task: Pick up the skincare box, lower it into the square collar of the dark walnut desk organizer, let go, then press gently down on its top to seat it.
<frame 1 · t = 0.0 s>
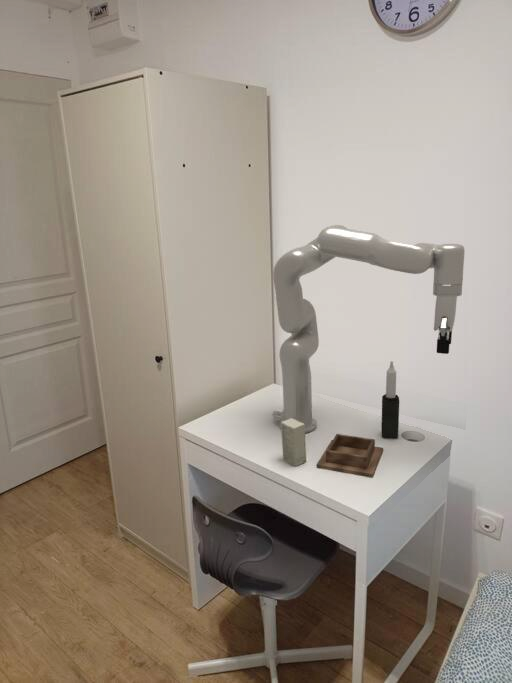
hand: (443, 348, 144), 31 cm above the table, tool pointing down, fingers open, 9 cm apart
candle: (389, 435, 161), on the table
skincare box: (294, 461, 148), on the table
organizer: (350, 458, 148), on the table
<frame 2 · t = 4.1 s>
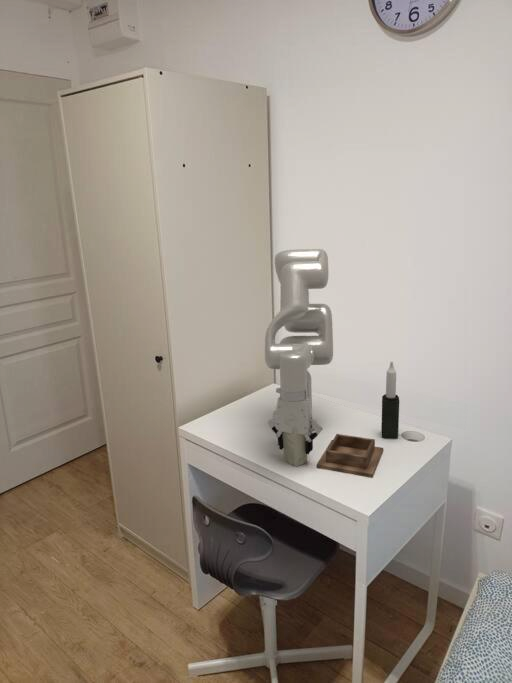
hand: (295, 449, 147), 4 cm above the table, tool pointing down, fingers open, 7 cm apart
skincare box: (294, 461, 148), on the table, touching gripper
everything else where it was.
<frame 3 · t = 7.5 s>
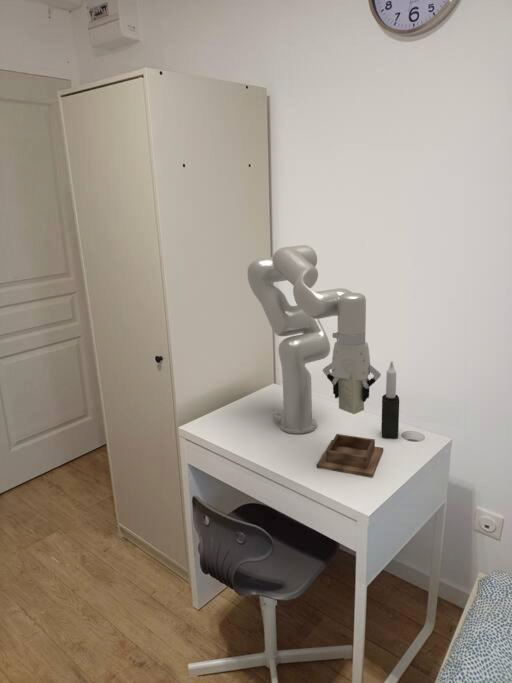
hand: (351, 397, 142), 19 cm above the table, tool pointing down, fingers closed on skincare box, 7 cm apart
skincare box: (350, 410, 143), point 16 cm above the table, touching gripper
everything else where it was.
when the fingers open (6 cm above the table, at t = 10.4 s): skincare box drops 1 cm, resting on organizer.
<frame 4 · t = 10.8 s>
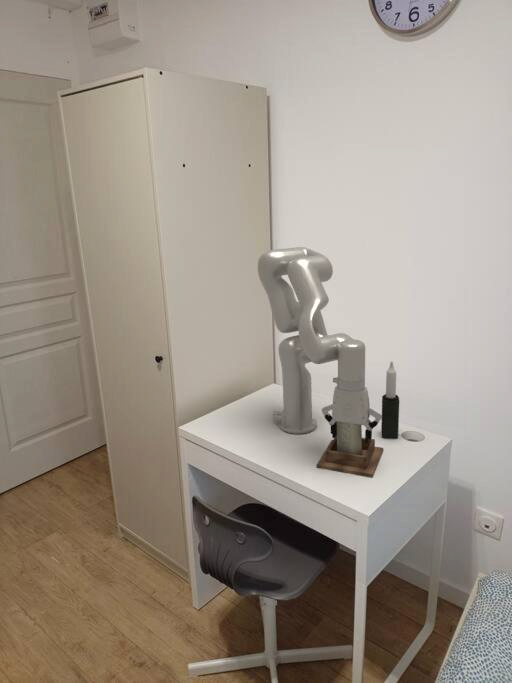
hand: (350, 438, 146), 7 cm above the table, tool pointing down, fingers open, 9 cm apart
skincare box: (349, 456, 147), point 1 cm above the table, touching organizer
everything else where it was.
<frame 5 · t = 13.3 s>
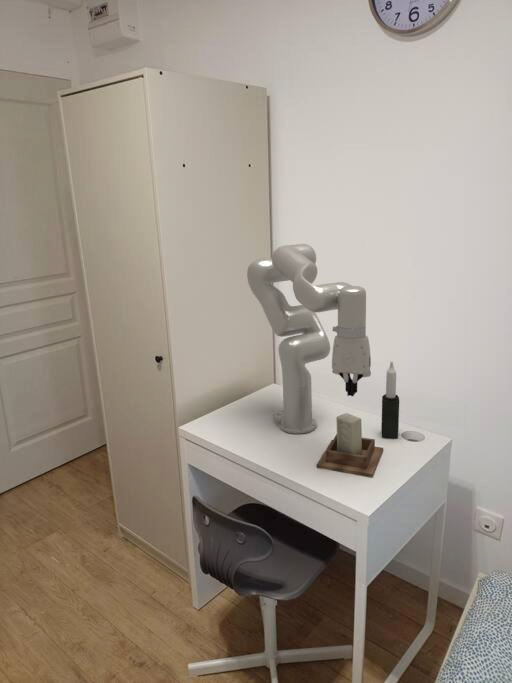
hand: (351, 394, 142), 20 cm above the table, tool pointing down, fingers closed
nothing on the table moved.
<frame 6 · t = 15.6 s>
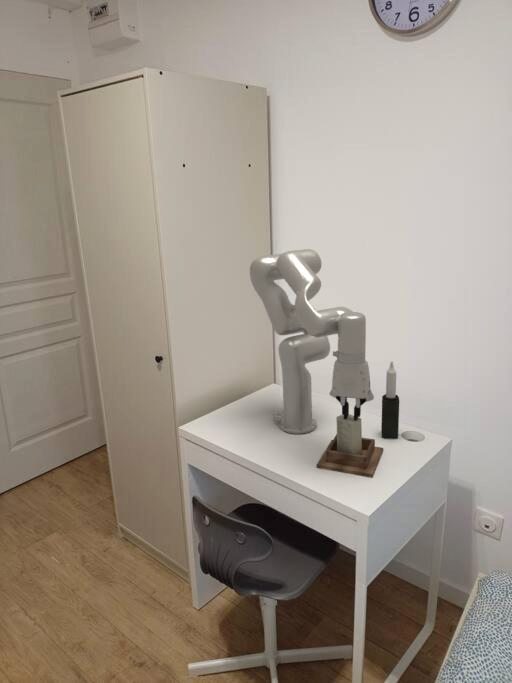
hand: (351, 417, 144), 13 cm above the table, tool pointing down, fingers closed
nothing on the table moved.
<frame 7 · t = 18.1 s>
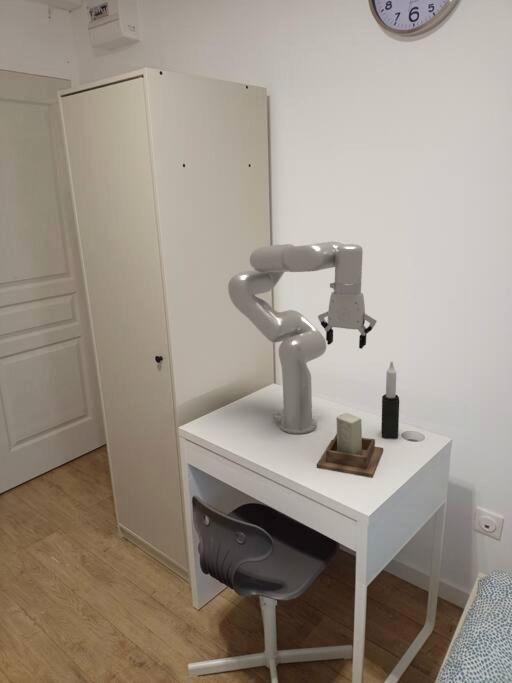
hand: (345, 345, 148), 32 cm above the table, tool pointing down, fingers open, 9 cm apart
nothing on the table moved.
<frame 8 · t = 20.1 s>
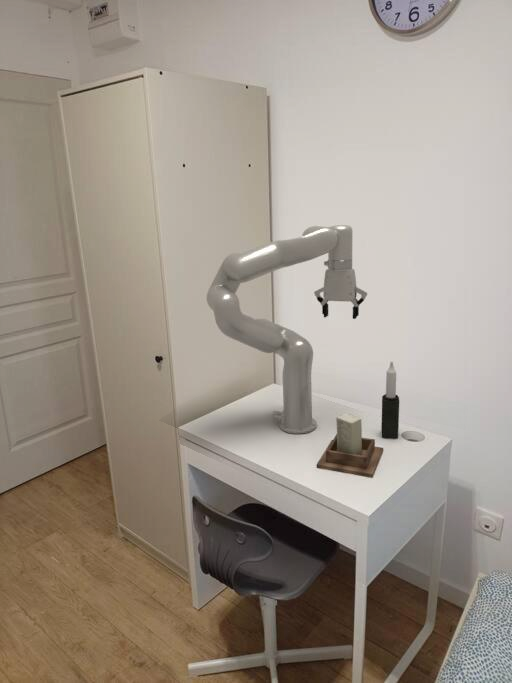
hand: (340, 317, 164), 36 cm above the table, tool pointing down, fingers open, 9 cm apart
nothing on the table moved.
at the end: skincare box 0.5 cm off-centre on the organizer, point 0.8 cm above the organizer's base; skincare box tilted 0°; the gripper is holding nothing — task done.
